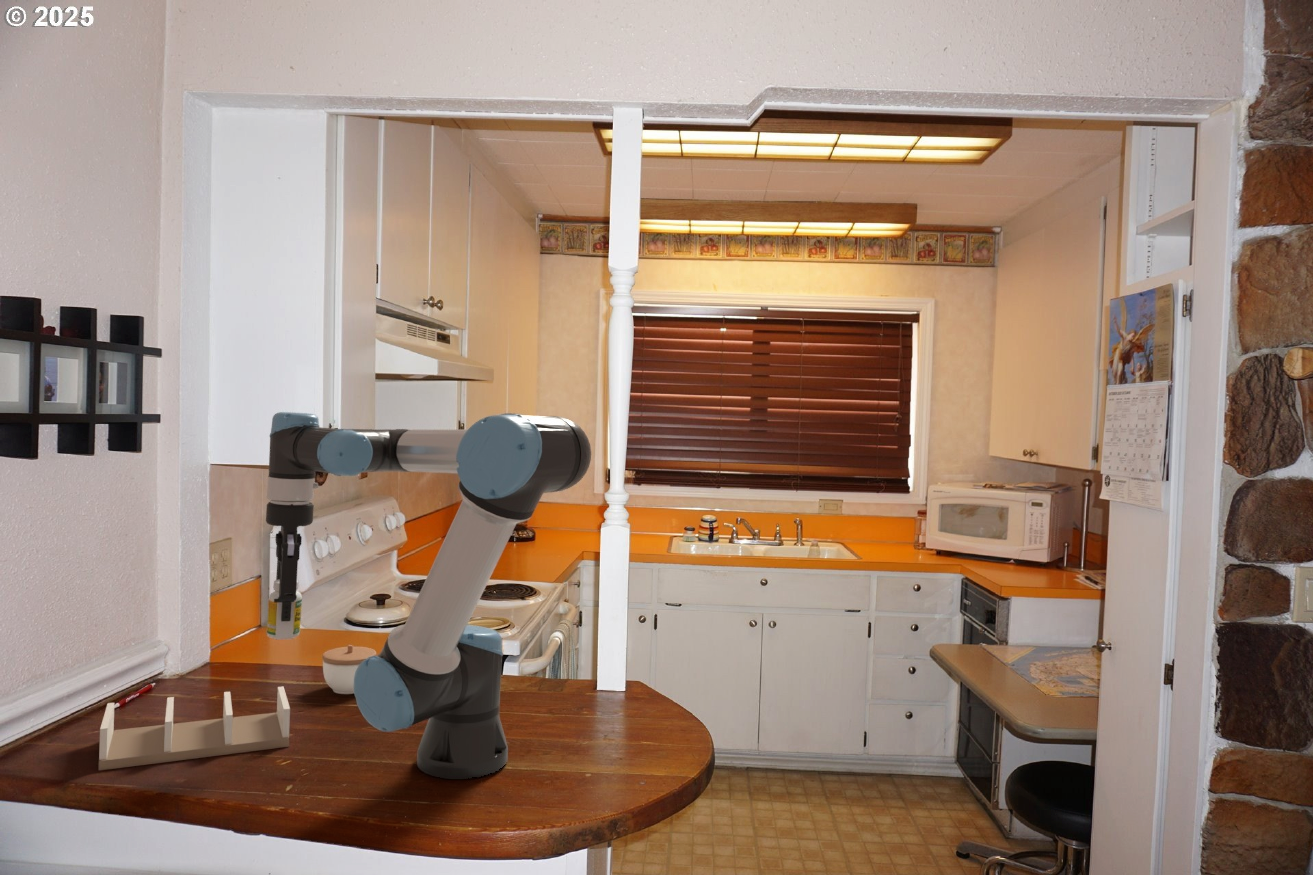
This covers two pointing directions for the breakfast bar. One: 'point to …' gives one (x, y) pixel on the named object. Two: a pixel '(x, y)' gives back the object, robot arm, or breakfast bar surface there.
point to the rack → (193, 736)
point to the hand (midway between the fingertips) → (283, 633)
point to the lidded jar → (344, 666)
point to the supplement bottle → (273, 611)
